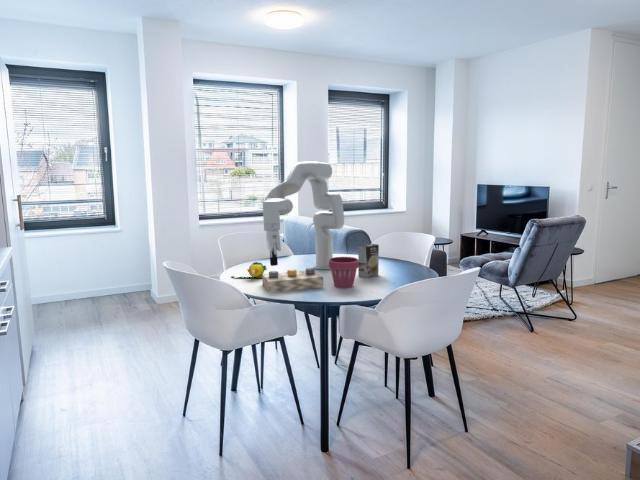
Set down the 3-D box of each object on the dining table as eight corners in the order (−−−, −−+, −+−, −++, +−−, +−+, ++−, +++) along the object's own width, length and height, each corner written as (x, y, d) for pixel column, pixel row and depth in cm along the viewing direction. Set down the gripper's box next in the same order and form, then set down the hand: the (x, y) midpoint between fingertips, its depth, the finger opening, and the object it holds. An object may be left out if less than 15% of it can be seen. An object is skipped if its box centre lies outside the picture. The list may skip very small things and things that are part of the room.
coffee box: (367, 278, 242) (367, 246, 239) (358, 276, 246) (357, 245, 244) (379, 275, 248) (378, 244, 245) (369, 273, 252) (369, 243, 250)
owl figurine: (225, 264, 243) (234, 259, 257) (226, 281, 244) (234, 275, 259) (279, 264, 239) (285, 259, 254) (280, 281, 240) (285, 275, 255)
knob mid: (295, 280, 232) (295, 269, 231) (297, 282, 228) (297, 271, 227) (286, 281, 230) (286, 270, 230) (288, 283, 226) (288, 271, 225)
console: (313, 279, 241) (313, 270, 240) (323, 287, 225) (323, 276, 225) (262, 284, 233) (262, 274, 232) (269, 292, 218) (268, 281, 217)
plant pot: (363, 287, 223) (363, 260, 221) (334, 290, 219) (334, 263, 217) (352, 281, 236) (352, 255, 234) (325, 283, 232) (324, 257, 230)
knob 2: (313, 279, 234) (313, 267, 233) (316, 281, 230) (315, 269, 229) (304, 280, 233) (304, 268, 232) (307, 282, 229) (306, 270, 228)
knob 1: (277, 282, 229) (277, 270, 228) (279, 284, 225) (279, 272, 224) (268, 283, 228) (267, 271, 227) (270, 285, 224) (269, 273, 223)
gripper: (283, 228, 216) (285, 267, 220) (276, 224, 230) (278, 261, 234) (267, 229, 214) (269, 269, 217) (261, 225, 228) (263, 262, 232)
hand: (274, 265), depth 226 cm, fingers closed
